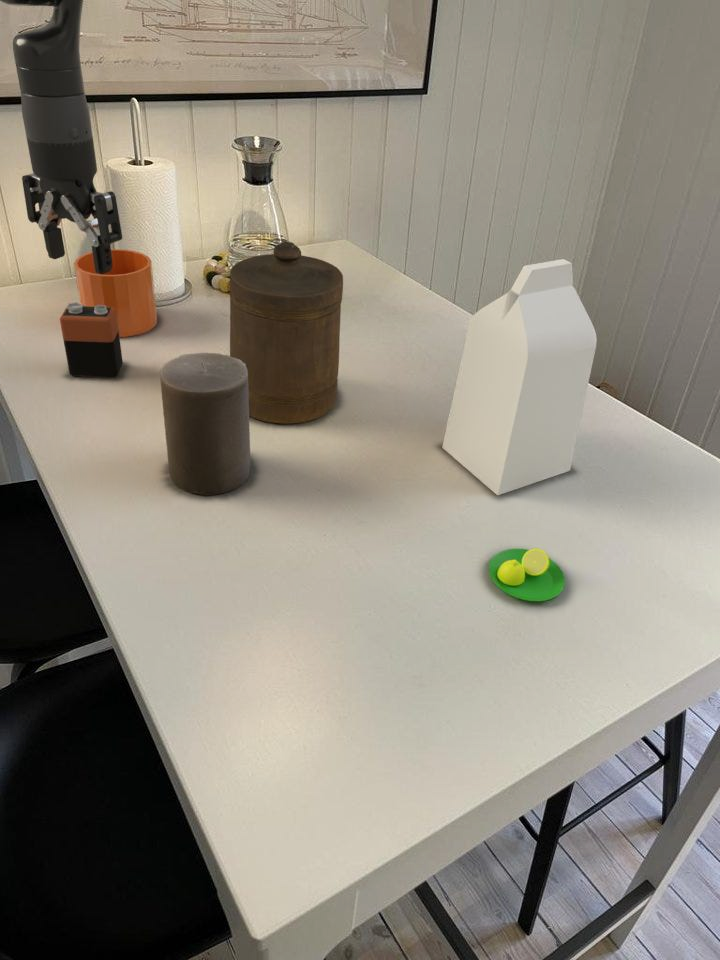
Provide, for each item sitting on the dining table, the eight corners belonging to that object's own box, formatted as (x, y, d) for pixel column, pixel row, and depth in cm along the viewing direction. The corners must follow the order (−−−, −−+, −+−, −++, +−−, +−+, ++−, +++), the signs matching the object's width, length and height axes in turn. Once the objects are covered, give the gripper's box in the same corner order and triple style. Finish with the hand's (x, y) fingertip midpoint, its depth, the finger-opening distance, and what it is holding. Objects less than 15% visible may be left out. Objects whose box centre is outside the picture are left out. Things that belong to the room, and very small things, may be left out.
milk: (497, 495, 91) (542, 291, 76) (442, 447, 99) (472, 253, 84) (570, 470, 97) (625, 275, 81) (512, 426, 104) (552, 241, 89)
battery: (76, 362, 111) (65, 298, 105) (123, 364, 111) (115, 300, 105) (69, 377, 107) (57, 311, 101) (117, 378, 108) (108, 313, 102)
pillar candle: (202, 506, 86) (194, 391, 77) (153, 468, 91) (140, 357, 82) (267, 473, 92) (267, 363, 83) (218, 440, 97) (212, 333, 88)
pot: (68, 324, 120) (57, 263, 115) (120, 301, 129) (112, 244, 123) (121, 344, 116) (113, 282, 110) (171, 319, 124) (166, 260, 119)
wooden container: (354, 389, 110) (365, 240, 97) (302, 436, 99) (307, 275, 86) (268, 362, 115) (268, 217, 102) (210, 404, 104) (201, 247, 91)
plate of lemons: (519, 543, 84) (524, 523, 83) (578, 583, 80) (585, 563, 78) (472, 573, 80) (476, 553, 78) (532, 617, 75) (538, 597, 74)
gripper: (126, 138, 90) (140, 269, 100) (42, 118, 95) (63, 245, 105) (78, 149, 85) (98, 286, 94) (-8, 127, 90) (19, 260, 100)
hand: (80, 264), depth 100 cm, fingers open, 8 cm apart
